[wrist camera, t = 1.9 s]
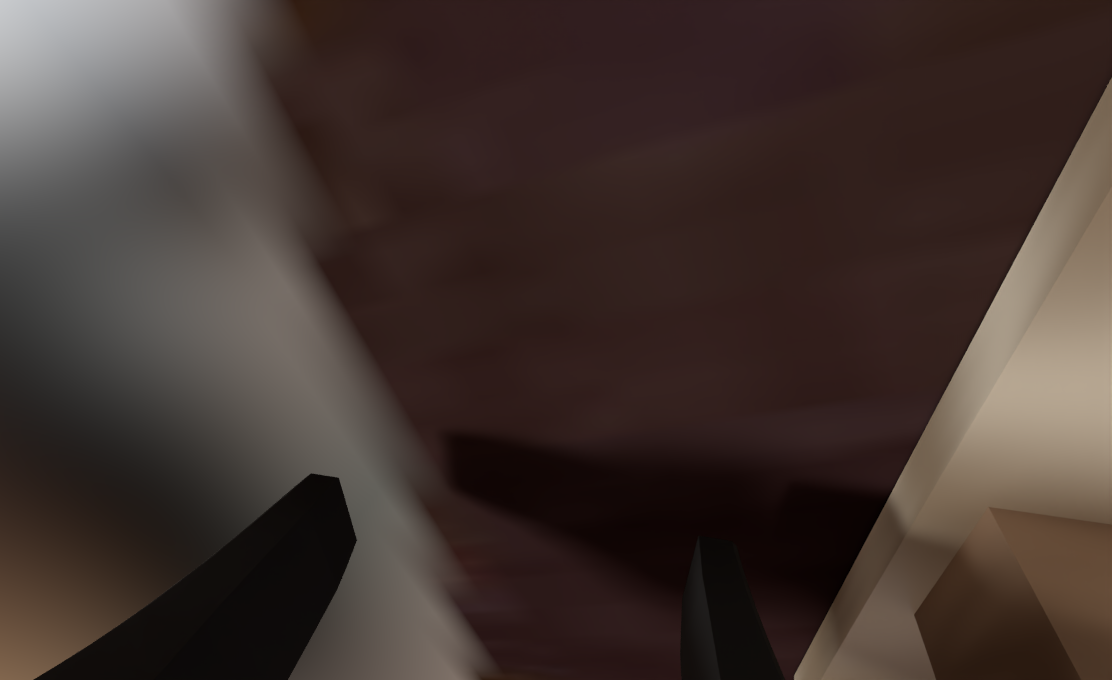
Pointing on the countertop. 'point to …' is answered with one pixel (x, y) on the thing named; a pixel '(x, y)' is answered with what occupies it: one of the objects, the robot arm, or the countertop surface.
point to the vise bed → (997, 427)
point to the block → (1023, 602)
